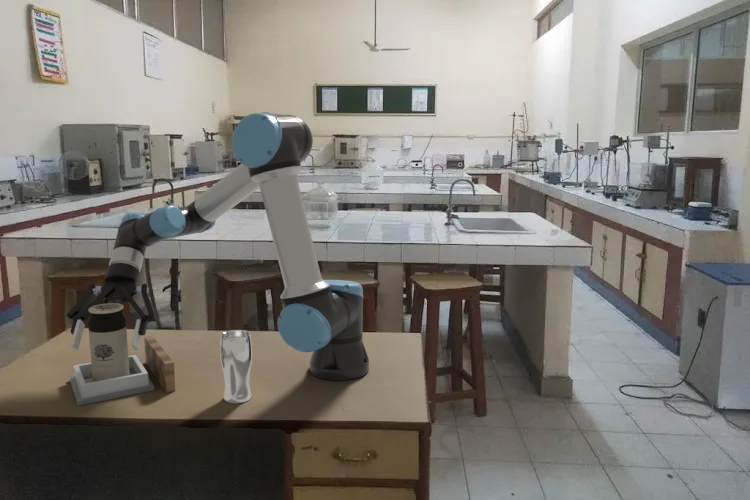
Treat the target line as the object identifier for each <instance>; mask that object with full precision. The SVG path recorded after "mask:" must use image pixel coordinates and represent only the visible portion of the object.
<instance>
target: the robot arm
mask: <svg viewBox="0 0 750 500" xmlns="http://www.w3.org/2000/svg"><path fill="white" fill-rule="evenodd" d="M231 138H232V139H231V146H232V151H233V154H234V156H235V157H236V159H237V161H238V162H239V163H240V164H239V165H238V166H236V167H235V168H233V169H232V171H230V172H229V173H227V174H226V175H225V176H223V177H222V178H221V179H220V180H219V181H217V182H216V183H215V184H214V185H212V186H211V187H209V188H208V189H207V190H206V191H205V192H204V193H202V194H200V195H199V196H198V197H196V199H194V200H193V201H192V202H190V204H188V205H186V206H181V207H176V206H174V205H172V204H170V205H165V206H163V207H158V208H156V209H155V210H153V211H151V212H150V213H148V214H146V215H143V214H140V213H133V214H132V213H128V214H126V215H124V216H123V217H122V218H121V222H120V224H119V226H118V228H117V234H116V237H115V241H114V246H113V248H112V253H111V257H110V260H109V263H108V267H107V271H106V274H105V277H104V281H103V284H102V285H96V284H94V283H90V284H89V286H88V288H87V290H86V291H85V293H84V294H83V295H82V296H81V298H80V299H79V300H77V302H76V303H75V304H74V305H73V306H72V307H71V309H70V310H69V311H68V312H67V313H66V317H67V319H68V320H69V321H70V322H71V323H72V325H71V328H70V334H71V335H72V337H71V340H70V346H69V347H71V348H72V349H73V350H74V351H79V348H80V345H81V341H82V337H83V334H84V331H85V326H86V324H85V323H84V322H85V321H86V320H88V319H90V318H91V315H90V312H89V311H88V309H89V308H90V307H92V306H95V305H100V304H107V303H117V304H122V305H124V304H126V303H127V304H129V305H130V306H131V309H133V310H134V312H135V313H136V315H137V316H138V317H139V318H137V319H136V322H135V327H134V331H133V334H132V340H131V344H130V345H131V347H132V349H133V350H134V351H138V350H139V347H140V342H141V338H142V336H145V335H146V333H147V328H148V325H149V323H153V322H154V323H155V322H157V320H158V318H157V314H156V312H155V309H154V307H153V304H152V301H151V298H150V288H149V286H148V284H147V283H143V284H142V285H138V284H139V279H140V275H141V271H142V267H143V261H144V258H145V254H146V250H147V248H149V247H151V246H154V245H156V244H158V243H160V242H163V241H165V240H168V239H175V238H178V237H179V238H180V237H183V236H189V235H193V234H201V233H204V232H207V231H209V230H211V229H212V228H214V227H215V223H216V221H217V220H218V219H219V218H221V217H222V216H224V215H225V214H226V213H227V212H229V211H230V210H232V209H233V208H234V207H236V206H237V205H238V204H239V203H241V202H242V201H244V200H245V199H247V198H248V197H249V196H251V195H252V194H254V193H255V192H256V191H257V190H258V189H260V193H261V197H262V201H263V205H264V209H265V214H266V217H267V218H266V219H267V220H268V224H269V228H270V233H271V237H272V241H273V245H274V249H275V253H276V257H277V261H278V265H279V268H280V272H281V273H280V274H281V277H282V281H283V285H284V289H283V291H282V293H281V294H280V300H281V304H282V309H281V310H280V314H279V316H278V317H277V330H278V333H279V335H280V337H281V339H282V340H283V341H284V343H286V345H288V346H289V347H291V348H292V349H293V350H295V351H298V352H300V353H312V354H311V357H310V359H309V372H310V373H311V374H312V375H313V376H315V377H317V378H320V379H323V380H328V381H329V380H330V381H349V380H354V379H358V378H361V377H362V376H365V375H367V373H368V372H369V370H370V359H369V356H368V352H367V351H366V350H367V349H366V347H365V343H364V341H363V320H364V319H363V318H364V317H363V316H364V313H363V311H364V294H363V293H364V292H363V286H362V284H361V283H359V282H356V281H353V280H341V279H323V278H322V274H321V270H320V266H319V263H318V258H317V254H316V250H315V245H314V242H313V238H312V234H311V229H310V226H309V222H308V217H307V213H306V210H305V205H304V201H303V198H302V193H301V188H300V184H299V181H298V174H299V173H300V170H301V169H302V165H301V163H302V162H305V160H306V159H307V158H308V157H309V155H310V154H311V151H312V148H313V141H314V139H313V133H312V131H311V128H310V127H309V125H308V124H307V122H305V120H303V119H301V118H300V117H298V116H297V115H293V114H292V115H291V114H280V113H272V112H268V111H267V112H266V111H263V112H254V113H249V114H247V115H246V116H244V117H242V118H241V119H240V120H239V122H238V123H237V125H236V127H235V129H234V130H233V133H232V137H231ZM137 293H138V294H139V295H140V296H141V297H142V299H143V302H144V305H145V308H146V310H147V314H146V313H145V312H144V311H143V310H142V308H140V306H139V305H138V303H137V301H135V299H134V298H133V297H134V296H135V295H136V294H137Z"/></svg>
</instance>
